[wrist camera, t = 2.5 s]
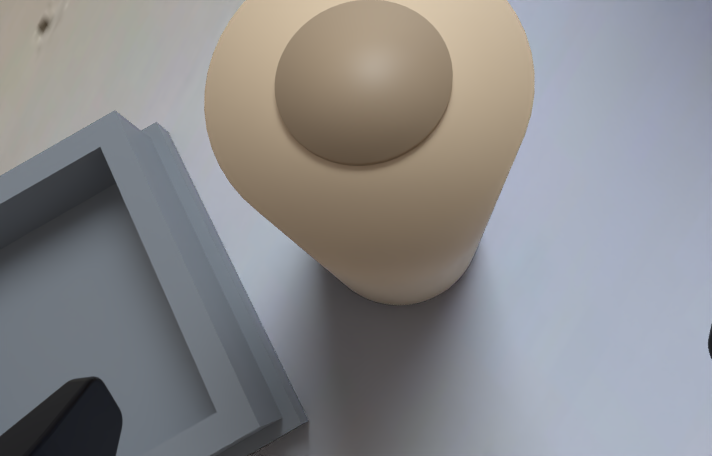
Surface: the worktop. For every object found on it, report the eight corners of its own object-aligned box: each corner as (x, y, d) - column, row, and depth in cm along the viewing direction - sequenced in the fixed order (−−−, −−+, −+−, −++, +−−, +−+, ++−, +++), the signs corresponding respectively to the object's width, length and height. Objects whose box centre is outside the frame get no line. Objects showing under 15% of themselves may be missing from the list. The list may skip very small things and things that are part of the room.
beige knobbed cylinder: (383, 338, 19) (325, 316, 9) (290, 213, 21) (143, 64, 10) (513, 238, 20) (613, 94, 9) (411, 122, 21) (391, -120, 10)
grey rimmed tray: (308, 420, 19) (282, 434, 16) (-9, 601, 19) (-103, 654, 16) (168, 131, 23) (122, 92, 19) (-100, 285, 23) (-194, 272, 19)
